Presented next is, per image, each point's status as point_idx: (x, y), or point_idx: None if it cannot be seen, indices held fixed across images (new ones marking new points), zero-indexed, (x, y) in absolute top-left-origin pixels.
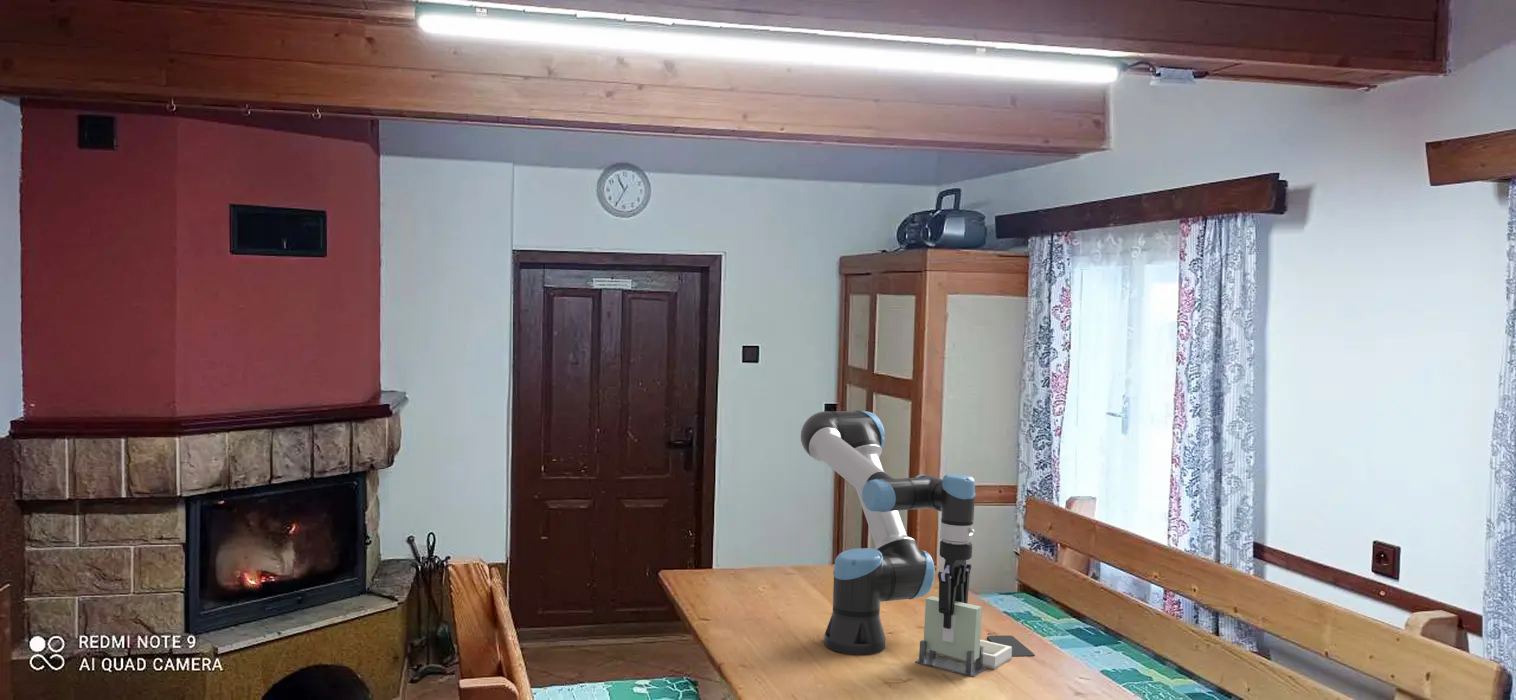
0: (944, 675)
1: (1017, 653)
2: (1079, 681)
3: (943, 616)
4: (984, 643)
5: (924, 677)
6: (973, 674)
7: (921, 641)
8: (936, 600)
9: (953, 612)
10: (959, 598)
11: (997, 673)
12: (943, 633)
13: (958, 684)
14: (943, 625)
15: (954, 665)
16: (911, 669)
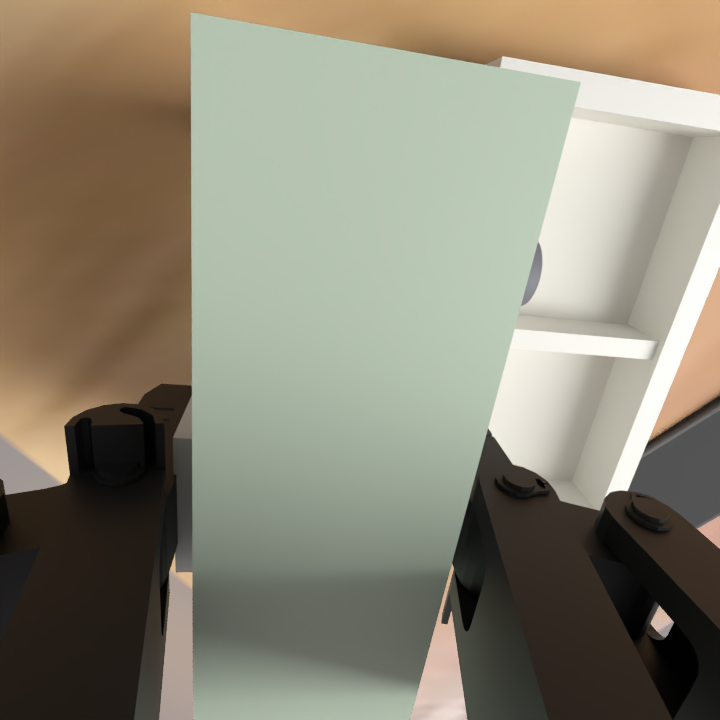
0: (133, 327)
1: (653, 493)
2: (431, 714)
3: (185, 415)
4: (635, 400)
5: (4, 243)
6: None
7: None
8: (212, 362)
9: (167, 596)
10: (484, 715)
11: None
12: None
13: (57, 430)
14: (142, 398)
15: None
16: (78, 109)
